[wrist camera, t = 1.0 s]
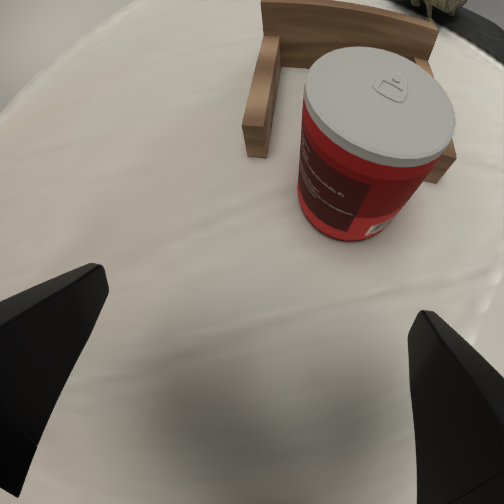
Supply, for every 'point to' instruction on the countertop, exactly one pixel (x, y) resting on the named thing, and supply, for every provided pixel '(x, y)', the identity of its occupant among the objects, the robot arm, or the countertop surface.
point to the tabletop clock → (440, 6)
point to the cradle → (322, 42)
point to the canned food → (367, 139)
